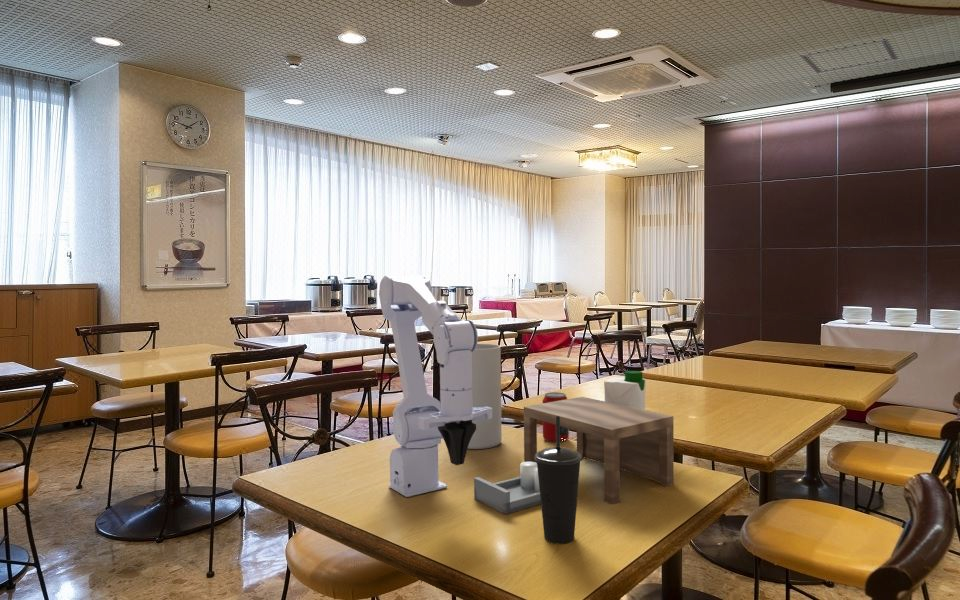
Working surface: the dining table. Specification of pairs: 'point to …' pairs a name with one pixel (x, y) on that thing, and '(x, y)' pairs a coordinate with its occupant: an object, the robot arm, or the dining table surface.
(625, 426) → the wooden side table
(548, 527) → the drinking cup
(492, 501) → the tray
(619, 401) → the milk carton
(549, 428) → the beverage can
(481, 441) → the cylinder vase
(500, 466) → the dining table surface
